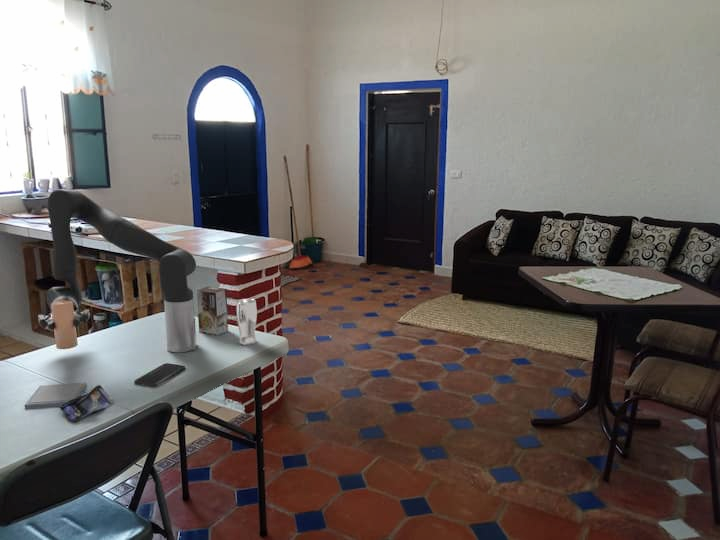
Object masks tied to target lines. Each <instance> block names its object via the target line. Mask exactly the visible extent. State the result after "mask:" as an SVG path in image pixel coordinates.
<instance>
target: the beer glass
mask: <svg viewBox="0 0 720 540" xmlns="http://www.w3.org/2000/svg"><path fill="white" fill-rule="evenodd" d="M235 308H236V309H235V311H236V320H237V327H238V330H239V336H238V343H240V345H241V344H243V345H242V346H250V345H254V344H256V343H257V338H256V337H257V336H256V327H257V318H258V314H257V313H258V311H257V302H256V299H254V298H241V299H238V300H236V307H235Z"/></svg>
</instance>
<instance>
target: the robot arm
mask: <svg viewBox="0 0 720 540" xmlns="http://www.w3.org/2000/svg"><path fill="white" fill-rule="evenodd" d="M47 210H48V215H49V222H50V223H49V224H50V229H51V237H52V245H53V259H52V260H53V265H52V266H53V267H52V268H53V269H52V271H53V272H52V275H53V278H54V279H55V280H58V281H61V282H62V281H63V282H66V283H68V284H69V285H70V286H53V287H51V288H49V289H48V290H47V293H46V295H45V298H46V302H47V305H48V306H49V308H50V313H49V314H48V315H45V314H44V315H43V314H38V315H37V320H38V324H39V326H40V327H41V328H42V329H43V328H44V329H46V328H47V329H48V330H51V331H54V324H53V317H52V309H51V303H53V302H57V301H63V300H70V301H73V309H74V317H75V318H74V319H75V327H76V328H78V327H79V326H80V325H81V323H82V322H83V323H87V322H88V321H89V319H90V318H91V313H90V309H89V308H86V309H84V310H82V311H80V310H79V306H80V305H81V304H82V301H83V294H82V292H81V289H80V285H79V280H78V279H79V278H78V253H77V250H76V245H75V243H74V241H73V237H72V234H71V219H72V218H74V219H77V220H80V221H82V222H84V223H85V224H88V225H90V226H91V227H93V228H94V229H95V230H96V231H98V233H99V234H100V235H101V236H102V238H103V239H104V240H106V241H107V242H108V243H111V245H114V246H115V247H117V248H119V249H120V250H123V251H125V252H128V253H131V254H135V255H139V256H143V257H146V258H150V259H152V260H155V261H157V262H159V264H158V273H159V283H160V290H161V293H162V295H163V299H164V301H163V302H164V317H165V319H164V320H165V332H166V333H165V334H166V347H167V351H169V352H171V353H185V352H189V351H195V350H196V347H197V334H196V333H197V332H196V318H195V308H194V307H195V306H194V305H195V304H194V292H193V290H192V288H190V287H188V276H190V275H191V274H193V273H194V272H195V270H196V268H197V262H196V259H195V257H194V256H193V255H192V253H191V252H189V251H187V250H186V249H183V248H181V247H179V246H177V245H174V244H171V243H169V242H168V241H165V240H162V238H160V237H158V236H155V235H154V234H153V233H151V232H149V231H148V230H145V229H144V228H142V227H140V226H139V225H137V224H135V223H133V222H131V221H130V220H128V219H126V218H124V217H122V216H120V215H118V214H116V213H114V212H112V211H110V210H108V209H106V208H104V207H102V206H101V205H100V204H98V203H97V202H95V201H93V200H92V199H91V198H89V197H88V196H86V195H85V194H84V193H82V192H80V191H78V190H75V189H65V188H62V189H61V188H60V189H59V188H58V189H56V190H55V189H54V190H53V191H52V192H51V193H50V194H49V196H48V199H47Z"/></svg>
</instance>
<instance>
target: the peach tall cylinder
mask: <svg viewBox="0 0 720 540" xmlns="http://www.w3.org/2000/svg"><path fill="white" fill-rule="evenodd" d="M51 309H52V317H53V324H54V330H53V331H54V339H55V347H56V349H58V350H70V349H73V348H76V347H78V337H77V335H78V334H77V327H75V319H74V318H75V317H74V309H73V301H70V300H63V301H57V302H53V303H51V308H50V310H51Z"/></svg>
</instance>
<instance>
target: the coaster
mask: <svg viewBox="0 0 720 540" xmlns="http://www.w3.org/2000/svg"><path fill="white" fill-rule="evenodd" d="M87 386H88V384H87V382H75V383H74V382H73V383H59V384H58V383H57V384H50V385H49V384H47V385H46V384H45V385H39V386H38V388H37V389H36V390H35V392H33V393H32V395H30V398H29V399H28V400H27V401H26V402H25V404H24V409H35V408H36V409H38V408H47V407H49V408H50V407H61V406H62V405H63V404H65V403H67V402H68V401H70V400H72V399H76V398H77V397H79V396H81V395H83V394H84V392H85V389H86V388H87Z"/></svg>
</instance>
